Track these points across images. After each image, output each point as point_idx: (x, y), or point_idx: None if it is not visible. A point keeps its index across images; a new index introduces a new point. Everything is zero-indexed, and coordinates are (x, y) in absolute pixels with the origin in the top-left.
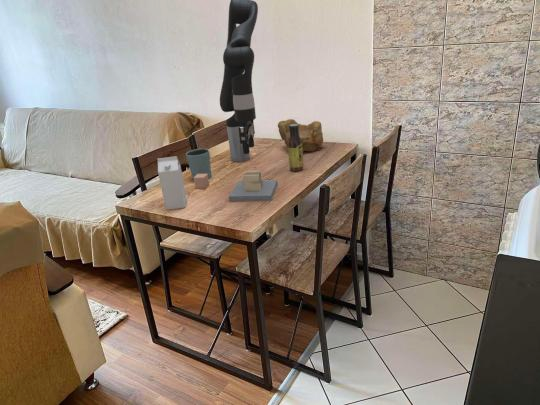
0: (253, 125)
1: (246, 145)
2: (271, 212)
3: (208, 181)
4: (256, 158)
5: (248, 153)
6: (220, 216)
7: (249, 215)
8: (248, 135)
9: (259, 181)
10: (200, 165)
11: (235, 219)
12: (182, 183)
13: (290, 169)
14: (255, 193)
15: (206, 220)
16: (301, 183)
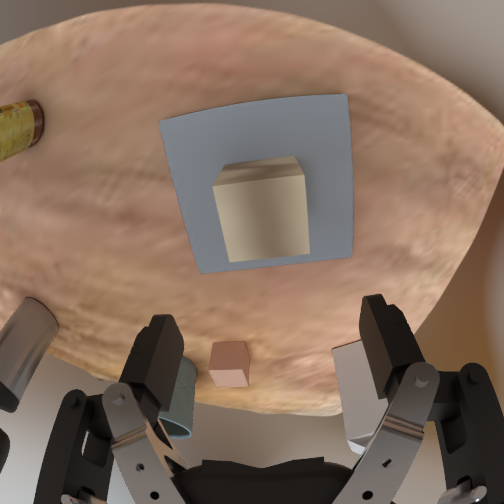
0: (54, 466)
1: (422, 359)
2: (432, 83)
3: (214, 350)
4: (18, 281)
5: (379, 296)
6: (443, 234)
7: (449, 151)
8: (416, 449)
9: (284, 166)
10: (184, 397)
11: (464, 187)
12: (362, 389)
13: (37, 139)
14: (327, 165)
15: (454, 259)
16: (142, 33)
